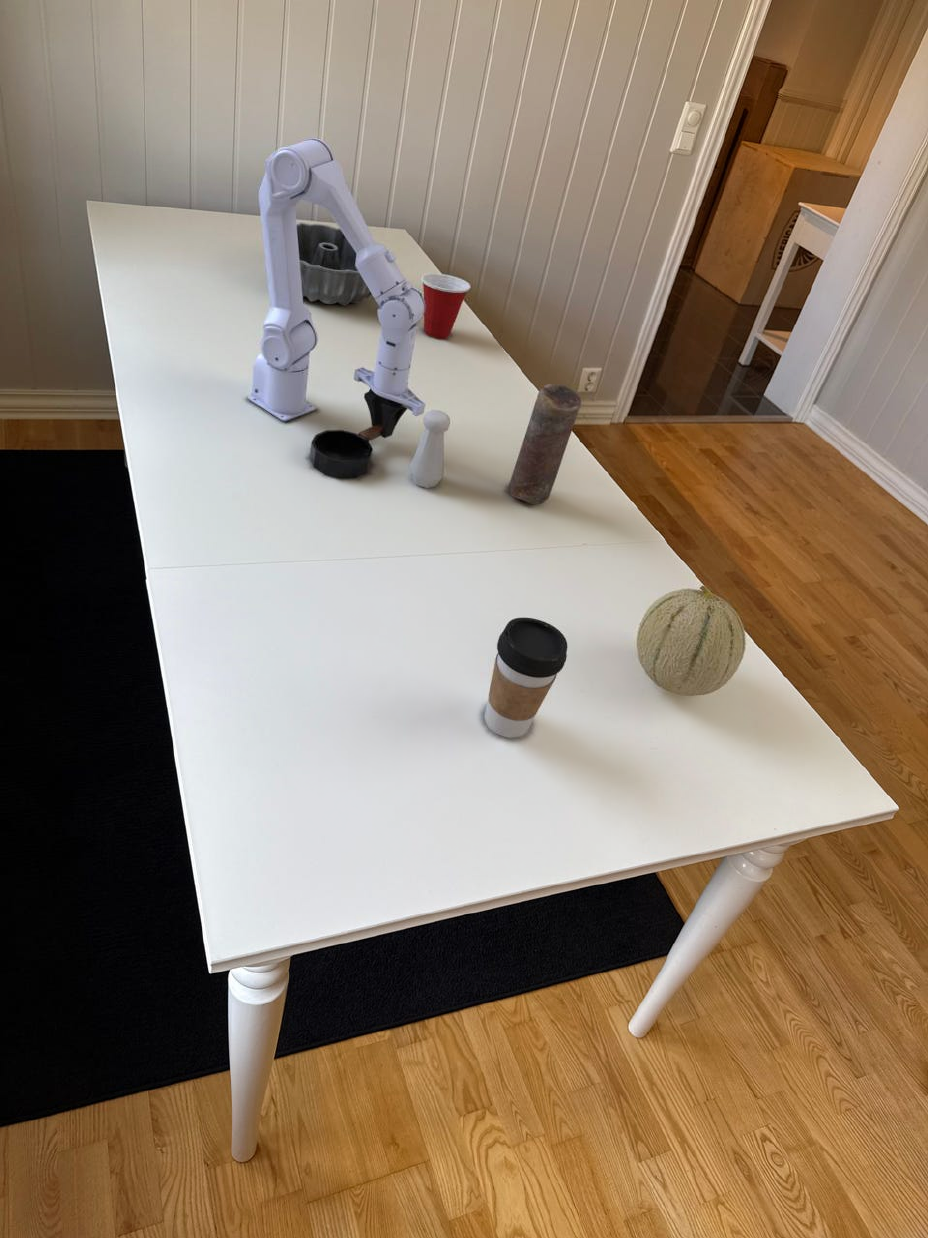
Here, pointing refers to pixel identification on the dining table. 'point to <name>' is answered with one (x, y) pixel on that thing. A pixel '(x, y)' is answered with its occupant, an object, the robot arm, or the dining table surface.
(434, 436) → the salt shaker
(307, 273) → the bundt pan
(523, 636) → the coffee cup
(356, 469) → the pan
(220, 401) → the dining table surface
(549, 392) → the candle
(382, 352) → the robot arm
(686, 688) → the cantaloupe
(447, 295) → the plastic cup
